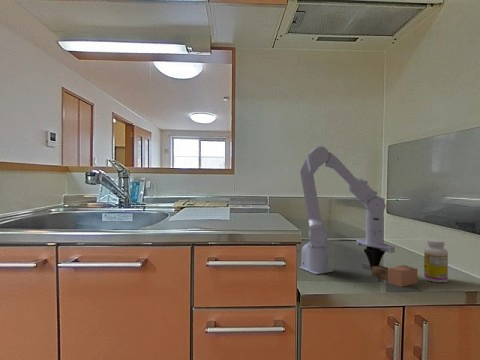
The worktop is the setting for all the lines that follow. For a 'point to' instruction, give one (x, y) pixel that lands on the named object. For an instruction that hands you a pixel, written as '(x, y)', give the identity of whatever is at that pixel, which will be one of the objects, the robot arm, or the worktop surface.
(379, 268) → the brown rectangular block
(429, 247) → the supplement bottle
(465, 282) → the worktop surface
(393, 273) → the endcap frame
